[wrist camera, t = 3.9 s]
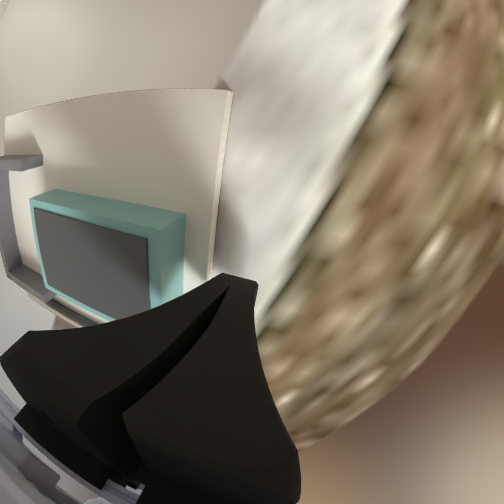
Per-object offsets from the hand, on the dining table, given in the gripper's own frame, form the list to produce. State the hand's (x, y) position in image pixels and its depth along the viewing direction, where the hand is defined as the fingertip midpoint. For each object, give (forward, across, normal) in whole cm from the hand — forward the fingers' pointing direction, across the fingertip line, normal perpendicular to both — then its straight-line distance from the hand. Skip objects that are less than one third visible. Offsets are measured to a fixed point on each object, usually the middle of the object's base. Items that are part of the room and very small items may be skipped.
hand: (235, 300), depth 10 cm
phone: (+1, +6, 0) cm, 6 cm away
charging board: (+1, +9, 0) cm, 10 cm away
